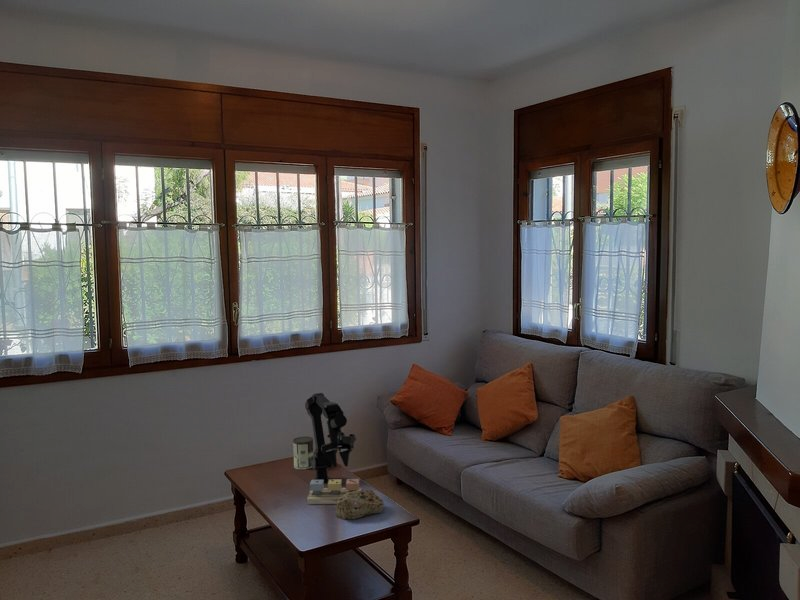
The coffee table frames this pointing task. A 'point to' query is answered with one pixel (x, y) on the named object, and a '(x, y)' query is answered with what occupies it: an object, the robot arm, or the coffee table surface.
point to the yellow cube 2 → (334, 486)
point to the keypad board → (326, 496)
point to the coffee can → (303, 452)
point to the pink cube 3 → (352, 485)
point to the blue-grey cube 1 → (316, 486)
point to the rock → (358, 504)
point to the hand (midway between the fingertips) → (341, 466)
